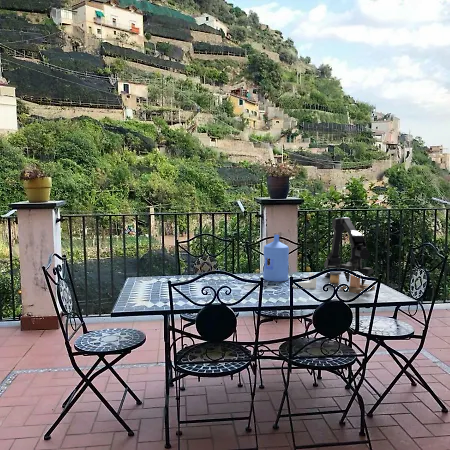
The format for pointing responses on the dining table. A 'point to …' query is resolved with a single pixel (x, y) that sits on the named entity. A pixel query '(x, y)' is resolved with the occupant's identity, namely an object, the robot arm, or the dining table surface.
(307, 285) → the bracket
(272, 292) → the dining table surface
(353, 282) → the salmon orange block
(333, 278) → the bobbin
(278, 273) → the water jug
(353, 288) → the notched board
